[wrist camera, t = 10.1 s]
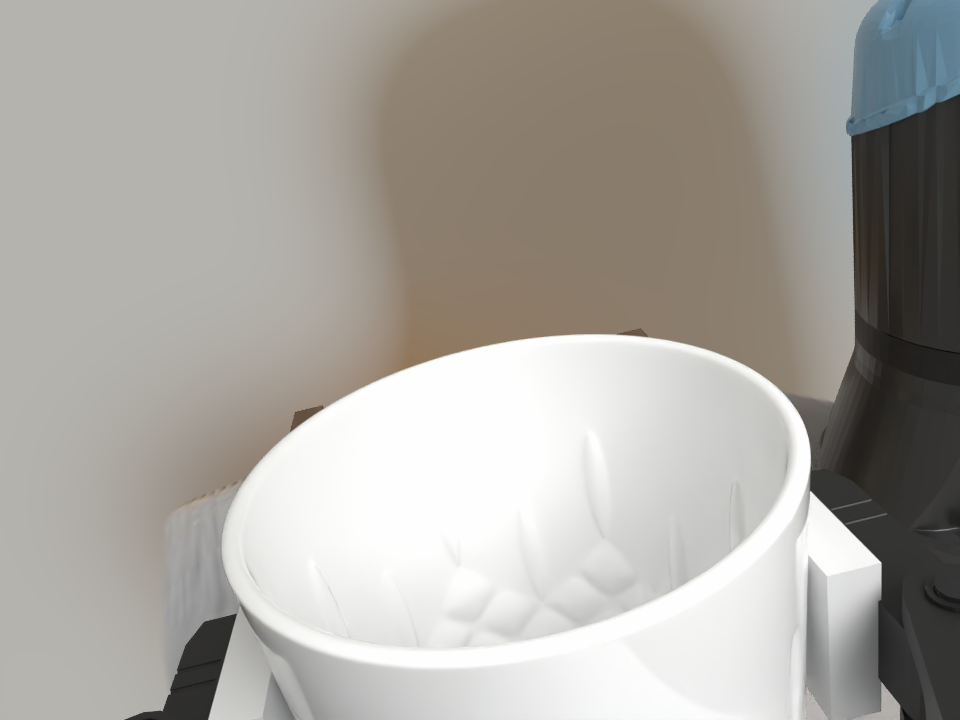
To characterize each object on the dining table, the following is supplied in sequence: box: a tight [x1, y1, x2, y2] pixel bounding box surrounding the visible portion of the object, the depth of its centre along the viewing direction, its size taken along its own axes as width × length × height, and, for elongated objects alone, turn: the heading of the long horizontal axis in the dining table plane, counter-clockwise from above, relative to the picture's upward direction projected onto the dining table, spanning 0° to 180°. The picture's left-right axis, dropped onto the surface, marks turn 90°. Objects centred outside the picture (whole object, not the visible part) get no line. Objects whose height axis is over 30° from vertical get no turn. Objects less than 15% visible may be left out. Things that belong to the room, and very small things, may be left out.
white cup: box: [221, 334, 811, 720], centre depth 12 cm, size 8×8×10 cm
